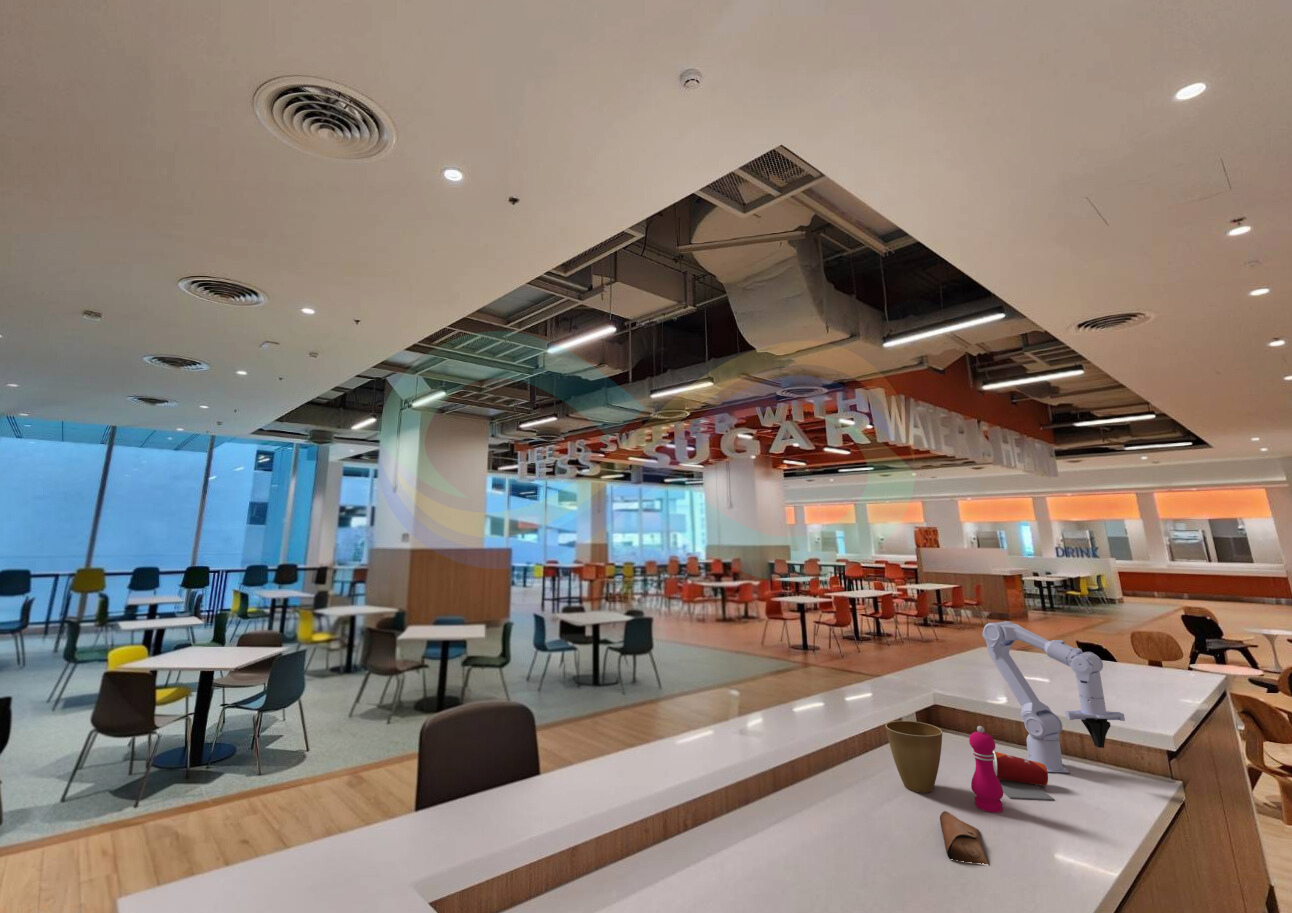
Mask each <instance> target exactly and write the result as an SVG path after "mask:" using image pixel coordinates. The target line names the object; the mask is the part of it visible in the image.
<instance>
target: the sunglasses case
mask: <svg viewBox="0 0 1292 913" xmlns="http://www.w3.org/2000/svg"><path fill="white" fill-rule="evenodd" d="M939 821H940V822H939V823H940V827H941V832H942V837H943V841H944V842H943V843H944V847H945V853H946V856H947V857H948V859H949V860H950V859H953V860H958V861H964V862H972V863H981V864H982V863H984V864H988V863H989V860H988V858H987V855H986V853H985V850H984V848H983V844H982V842H981V836H980V831H979V829H978V828H977V827H975V826H973V825H971V824H969V823H968V822H965V821H963V820H961V819H959V818H958V817H957V816H955V815H953V814H952V813H950V812H949V811H945V810H944V811H942V812H941V813H940V815H939Z"/></svg>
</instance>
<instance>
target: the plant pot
mask: <svg viewBox="0 0 1292 913" xmlns="http://www.w3.org/2000/svg"><path fill="white" fill-rule="evenodd" d="M885 730H886V736H887V740H888V743H889V746H890V750H891V754H892V758H893V761H894V763H895V766H896V769H897V772H898V774H899V777H900V779H901V782H902V784H903V785H904V788H906V789H907V790H909V791H913V792H917V793H923V794H924V793H931V792H932V791H933V790H934V787H935V784H936V782H937V781H936V780H937V776H938V773H939V767H940V761H941V754H942V745H943V744H942V742H943V730H942V729H941V728H939V727H938V726H935V725H933V724H929V723H925V722H921V721H911V720H896V721H895V720H894V721H889V722H887V723H885Z"/></svg>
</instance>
